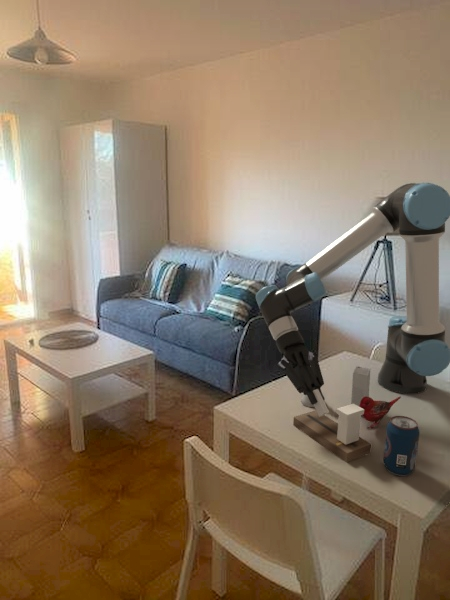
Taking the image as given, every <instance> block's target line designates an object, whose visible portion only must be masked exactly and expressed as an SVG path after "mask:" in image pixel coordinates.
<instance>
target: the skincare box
mask: <svg viewBox="0 0 450 600" xmlns="http://www.w3.org/2000/svg"><path fill="white" fill-rule="evenodd" d="M370 381H371V368H369V367H363V366H356V367H355V369H354V371H353V373H352V386H351V401H350V404H355V405H357V406H359V405H360V402H361V400H362V398H363V397H370V385H371V382H370Z"/></svg>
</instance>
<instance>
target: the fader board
mask: <svg viewBox="0 0 450 600" xmlns="http://www.w3.org/2000/svg"><path fill="white" fill-rule="evenodd" d="M292 421H293V426H294V427H295V428H297V429H298V430H300V431H301V432H303V433H304V435H306V436H308V437H310V438H311V439H312V440H314V441H315V442H316V443H318V444H320V445H321V446H322V447H323V448H325V449H326V450H328V451H330V452H331V453H332V454H334V455H335V456H336V457H338V458H340V459H341V460H342V461H344V462H345V463H349V462H352V461H354V460H357V459H360V458H362V457H365V456H366V455H370V454H371V452H372V443H371V442H369V441H367V440H366V439H364V438H362V437H361V436H359V440H357V441H355V442H352V443H349V444H347V445H345V444H344V443H342V442H341V441H339V440H338V439H337V432H338V422H336V421H335V420H333V419H331V417H330V418H329V417H328V416H327V415H326V414H325V415H324V416H320V417H319V415H318V413H317V411H316V409H315V410H312V411H309V412H305V413H302V414H298V415H295V416H293V420H292Z"/></svg>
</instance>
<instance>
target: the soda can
mask: <svg viewBox="0 0 450 600" xmlns="http://www.w3.org/2000/svg"><path fill="white" fill-rule="evenodd" d="M419 440H420V429H419V426H418V422H417V421H416V420H415V419H413V418H412V417H408V416H405V415H404V416H403V415H393V416H392V417H391V418H390V419H389V422H388V423H387V424H386V433H385V442H384V451H383V464H384V466H385V469H386V470H387V471H388V472H389V473H391V474H393V475H396V476H399V477H407V476H409V475H411V474H412V473H413V472H414V471H415V469H416V464H417V456H418V449H419V448H418V447H419Z"/></svg>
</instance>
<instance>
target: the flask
mask: <svg viewBox="0 0 450 600" xmlns="http://www.w3.org/2000/svg"><path fill="white" fill-rule="evenodd" d="M320 390H321V392H322V387H321V388H320ZM322 393H323V392H322ZM300 402H301V404H302V405H303V406H304V407H310V408H315V406H314V404H313V405H312V404H311V402H310V400H309V398H308V396H307V395H304V394H303V395H302V397H301V399H300ZM324 402H325V400H324ZM325 403H326V402H325Z"/></svg>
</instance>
